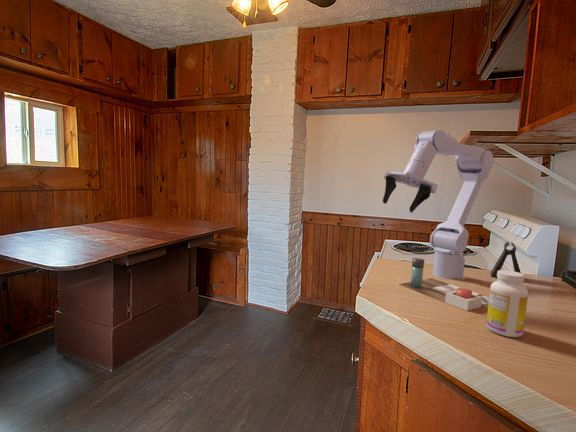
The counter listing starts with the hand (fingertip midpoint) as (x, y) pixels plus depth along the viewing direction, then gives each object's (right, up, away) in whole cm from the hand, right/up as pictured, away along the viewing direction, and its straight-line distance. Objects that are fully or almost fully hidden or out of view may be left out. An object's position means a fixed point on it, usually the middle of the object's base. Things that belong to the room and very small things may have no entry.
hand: (397, 206), depth 89 cm
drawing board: (+14, -25, +1) cm, 29 cm away
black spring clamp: (+45, -24, +22) cm, 55 cm away
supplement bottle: (+16, -28, -20) cm, 38 cm away
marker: (+7, -23, +5) cm, 25 cm away
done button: (+14, -23, -8) cm, 28 cm away
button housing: (+14, -26, -8) cm, 30 cm away
